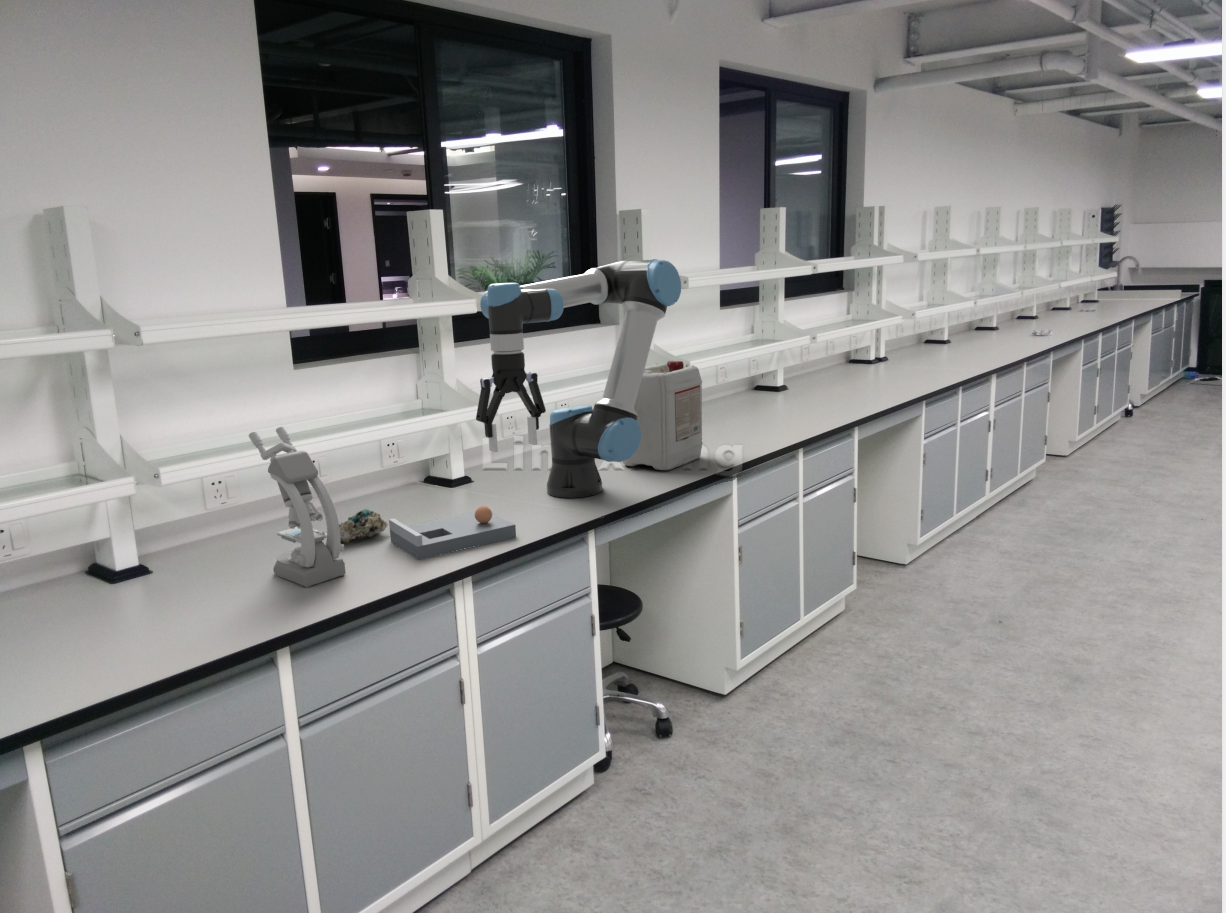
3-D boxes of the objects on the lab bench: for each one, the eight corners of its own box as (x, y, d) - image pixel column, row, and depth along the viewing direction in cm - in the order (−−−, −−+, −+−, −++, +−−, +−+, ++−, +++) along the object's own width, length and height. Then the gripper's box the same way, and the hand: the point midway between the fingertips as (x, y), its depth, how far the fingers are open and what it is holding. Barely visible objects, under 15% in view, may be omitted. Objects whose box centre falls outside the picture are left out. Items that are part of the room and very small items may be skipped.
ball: (487, 519, 212) (486, 503, 211) (495, 523, 208) (494, 506, 208) (472, 522, 209) (471, 506, 209) (480, 526, 206) (478, 509, 205)
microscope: (304, 557, 199) (288, 424, 192) (353, 575, 187) (337, 433, 180) (258, 571, 191) (239, 433, 184) (305, 590, 179) (287, 443, 172)
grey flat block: (484, 521, 220) (483, 500, 219) (516, 536, 208) (514, 514, 206) (391, 541, 207) (388, 519, 206) (418, 559, 194) (416, 536, 193)
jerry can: (657, 451, 289) (655, 358, 282) (708, 457, 278) (707, 360, 272) (614, 467, 270) (611, 368, 263) (667, 474, 259) (665, 371, 253)
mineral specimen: (374, 525, 218) (359, 497, 215) (396, 528, 212) (381, 500, 209) (335, 554, 211) (319, 526, 207) (356, 559, 204) (340, 530, 201)
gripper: (541, 346, 214) (546, 437, 219) (455, 355, 202) (462, 452, 207) (557, 348, 208) (562, 442, 213) (470, 358, 196) (477, 457, 201)
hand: (513, 447), depth 210 cm, fingers open, 10 cm apart
